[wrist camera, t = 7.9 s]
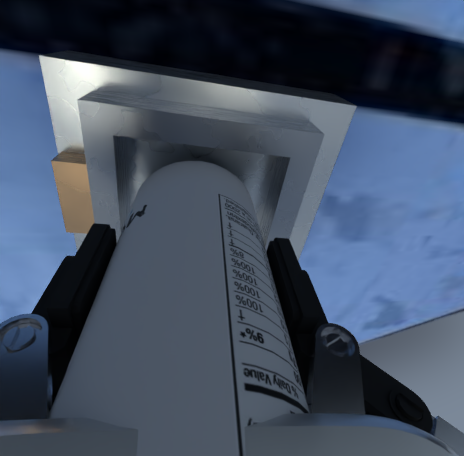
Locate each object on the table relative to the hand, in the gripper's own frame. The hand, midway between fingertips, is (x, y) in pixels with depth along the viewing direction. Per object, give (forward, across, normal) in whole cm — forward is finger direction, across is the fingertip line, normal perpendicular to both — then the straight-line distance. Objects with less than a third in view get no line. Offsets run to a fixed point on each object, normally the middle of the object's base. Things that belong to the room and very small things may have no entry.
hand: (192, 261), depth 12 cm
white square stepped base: (+8, 0, 0) cm, 8 cm away
